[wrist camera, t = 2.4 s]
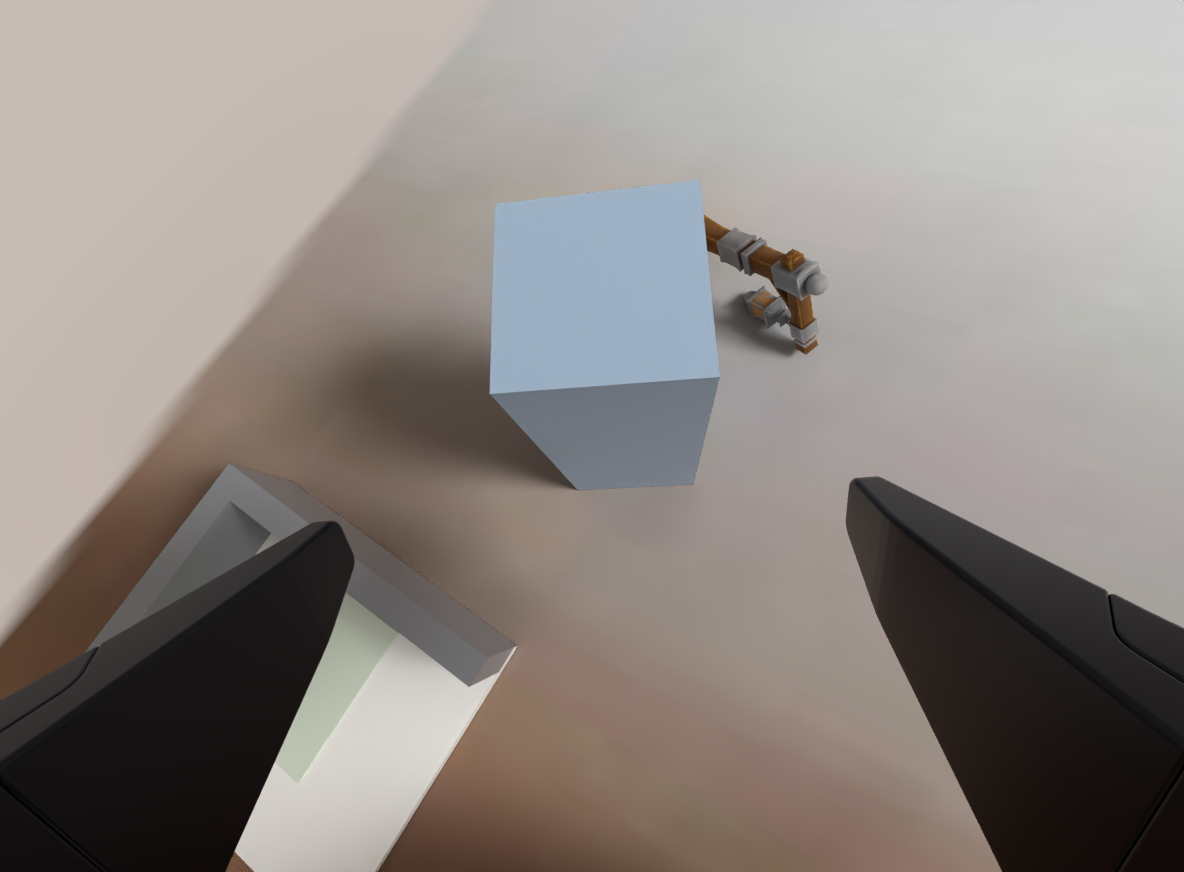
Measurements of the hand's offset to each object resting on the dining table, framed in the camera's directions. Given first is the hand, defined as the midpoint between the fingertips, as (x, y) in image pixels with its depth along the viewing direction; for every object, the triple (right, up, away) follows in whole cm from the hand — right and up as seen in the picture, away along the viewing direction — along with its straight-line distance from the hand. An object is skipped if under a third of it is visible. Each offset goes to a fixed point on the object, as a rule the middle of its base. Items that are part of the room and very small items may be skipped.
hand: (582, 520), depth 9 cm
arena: (-11, -8, +11) cm, 17 cm away
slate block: (+2, +2, +12) cm, 12 cm away
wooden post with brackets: (+6, +8, +14) cm, 17 cm away
